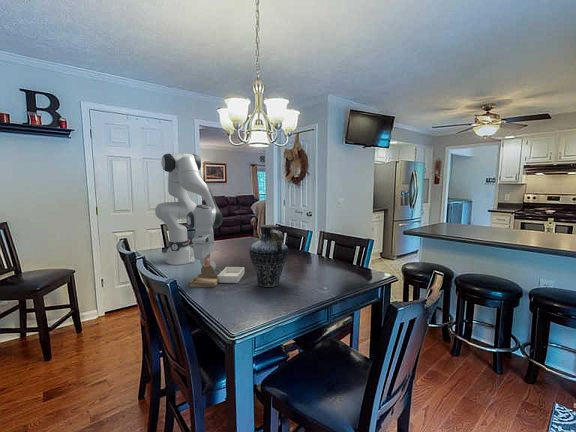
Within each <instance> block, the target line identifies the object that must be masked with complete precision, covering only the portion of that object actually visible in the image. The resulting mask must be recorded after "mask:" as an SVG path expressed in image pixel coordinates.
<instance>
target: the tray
mask: <svg viewBox="0 0 576 432" xmlns="http://www.w3.org/2000/svg"><path fill="white" fill-rule="evenodd" d="M217 276H218V275H215V274H213V275H203V274H196V275H195V277H194V278H192V279H191V280H190V281H189V282H187V283H188V288H211V287H212V288H213V289H214V288H216V286H217V285H218V284H220V283H219V278H217Z"/></svg>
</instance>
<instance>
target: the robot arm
mask: <svg viewBox="0 0 576 432" xmlns="http://www.w3.org/2000/svg"><path fill="white" fill-rule="evenodd" d="M160 164H161V168H162V170H163V171H164V172H167V173H168V175H167V193H168V194H169V195H170V196H172V197H173V198H176V199H177V201H166V202H162V203H161V202H160V203H158V204H157V205H156V207H155V209H154V213H155V216H156V217H157V218H158V219H159V220H160V221H162V222H163V223H164V224H165V226H166V227H167V231H168V248H167V249H166V259H165V260H164V263H167V264H169V265H172V266H173V265H175V266H176V265H177V266H178V265H179V266H180V265H186V264H191V263H194V262H195V261H196V260H200V262H201V263H200V266H201V267H202V266H205V265H206V264H205V260H204V259H205V257H207V258H209V259H210V260H211V256H212V255H211V254H212V253H213V252H214V251H215V247H216V246H215V239H214V229H218V228H219V227H220V226H221V225H222V224H223V221H224V220H223V219H224V217H223V214H222V212H221V210H220V209H219V206H218V205H217V202H216V200H215V197H214V195H213V192H212V189H211V188H210V185H209V184H208V183H206V182H205V181H204V180H203V178H202V177H201V175H200V170H201V168H202V160H201V157H200V156H199V155H197V154H194V153H192V154H191V153H183V152H181V153H165V154H163V155H162V157H161V163H160ZM188 192H189V193H192V194H196V195H199V196H201V198H203V199H204V202H205V204H197V203H196V202H194V201H193V200H192V199H191V198H190V196H189V194H188ZM183 219H184V220H185V219H186V225H187V226H188V227H189V228H190V229H194V230H195V232H194V236H193V238H192V239H191V240H190V239H189V238H188V228H187V227H186V226H185V225H183V224H181V223H178V220H183ZM190 243H191V244H192V245H193V247H191V246H190Z"/></svg>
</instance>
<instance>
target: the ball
mask: <svg viewBox="0 0 576 432" xmlns="http://www.w3.org/2000/svg"><path fill="white" fill-rule="evenodd" d="M204 260H205V264H206V265H205V266H203V267H208V266H209V265H210V263H211V261H210V260H211V258H210V259H209V258H207V257H205V259H204ZM200 264H201V262H200Z"/></svg>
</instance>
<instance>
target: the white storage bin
mask: <svg viewBox="0 0 576 432" xmlns="http://www.w3.org/2000/svg"><path fill="white" fill-rule="evenodd" d="M244 275H245V267H243V266H242V267H241V266H226V267H225V268H224V269H223V270H221V273H220V274H219V275H218V276H217V278H219V283H218V284H220V283H221V284H223V283H224V284H225V283H226V284H227V283H228V284H238V283H239V282H240V280H241V279H242V277H243V276H244Z"/></svg>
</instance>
